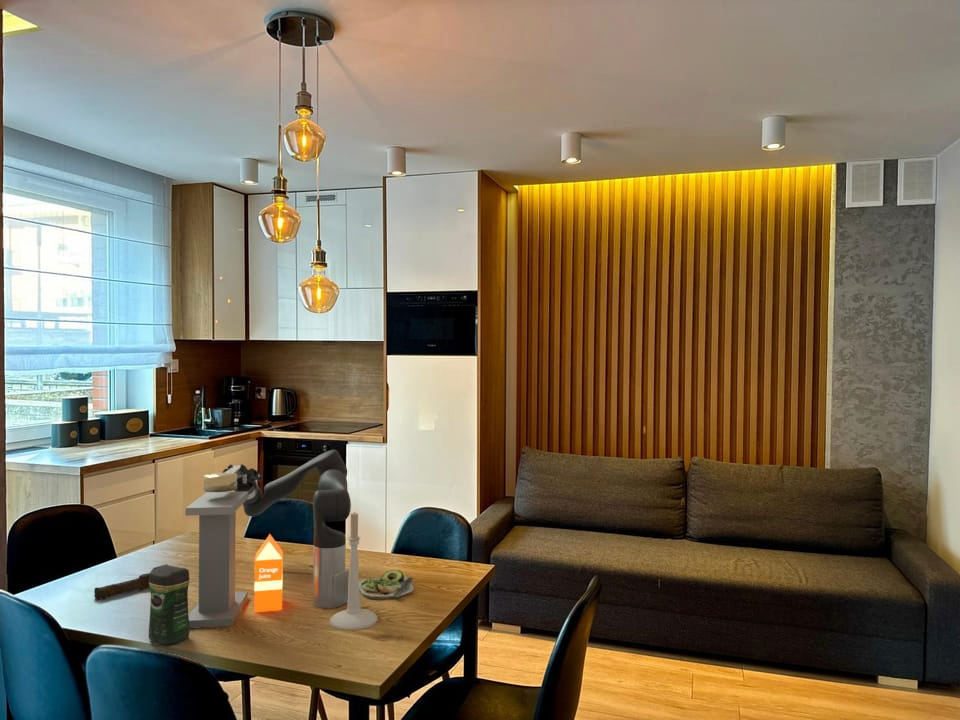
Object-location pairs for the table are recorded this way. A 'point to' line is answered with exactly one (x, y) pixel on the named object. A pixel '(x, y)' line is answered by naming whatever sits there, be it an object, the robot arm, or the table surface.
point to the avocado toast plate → (387, 585)
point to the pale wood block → (222, 480)
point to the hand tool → (122, 587)
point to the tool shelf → (217, 559)
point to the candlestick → (353, 591)
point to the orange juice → (268, 577)
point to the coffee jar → (169, 604)
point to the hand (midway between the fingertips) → (235, 467)
